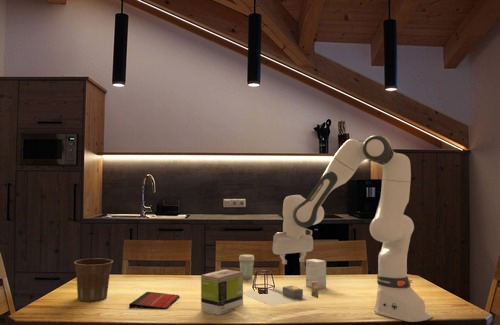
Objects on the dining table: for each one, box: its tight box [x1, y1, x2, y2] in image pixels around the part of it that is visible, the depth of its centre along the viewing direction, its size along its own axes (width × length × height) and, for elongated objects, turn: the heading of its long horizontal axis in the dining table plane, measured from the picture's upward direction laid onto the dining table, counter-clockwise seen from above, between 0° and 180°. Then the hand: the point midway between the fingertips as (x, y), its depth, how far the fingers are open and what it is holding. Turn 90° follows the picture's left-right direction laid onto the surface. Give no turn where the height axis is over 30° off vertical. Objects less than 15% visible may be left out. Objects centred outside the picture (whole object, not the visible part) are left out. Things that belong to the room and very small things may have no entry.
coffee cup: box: [238, 253, 255, 280], centre depth 246 cm, size 8×8×12 cm
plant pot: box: [73, 258, 114, 302], centre depth 201 cm, size 16×16×16 cm
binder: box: [128, 291, 180, 310], centre depth 196 cm, size 16×2×21 cm
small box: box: [305, 258, 327, 290], centre depth 227 cm, size 8×6×13 cm
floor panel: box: [243, 286, 313, 307], centre depth 203 cm, size 26×22×2 cm
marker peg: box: [311, 281, 319, 298], centre depth 206 cm, size 3×3×7 cm
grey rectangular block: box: [282, 285, 304, 299], centre depth 202 cm, size 8×5×4 cm, turn 32°
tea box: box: [200, 268, 244, 316], centre depth 186 cm, size 15×10×15 cm, turn 141°
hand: (293, 263), depth 203 cm, fingers open, 8 cm apart
